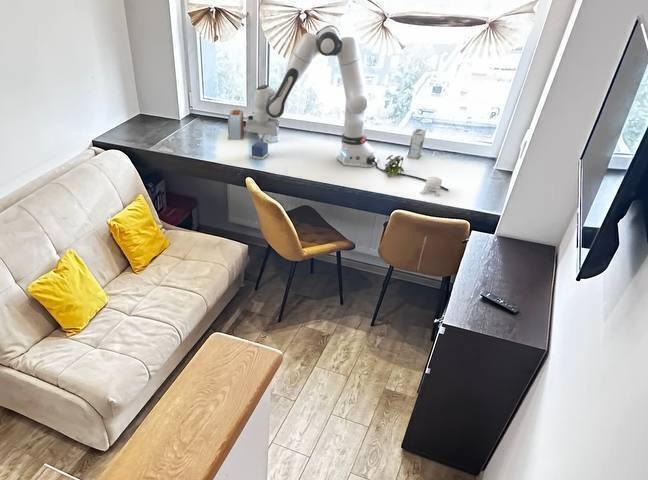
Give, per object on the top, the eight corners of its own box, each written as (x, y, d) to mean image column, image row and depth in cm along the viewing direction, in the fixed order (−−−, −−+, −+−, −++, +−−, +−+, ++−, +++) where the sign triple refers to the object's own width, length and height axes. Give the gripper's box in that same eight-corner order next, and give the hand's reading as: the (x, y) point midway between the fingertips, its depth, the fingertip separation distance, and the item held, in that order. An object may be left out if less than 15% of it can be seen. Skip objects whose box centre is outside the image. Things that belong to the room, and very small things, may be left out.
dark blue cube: (257, 141, 321) (257, 152, 326) (251, 145, 316) (251, 157, 321) (267, 143, 318) (267, 154, 323) (262, 147, 314) (262, 159, 318)
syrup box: (411, 153, 314) (416, 128, 304) (421, 155, 311) (426, 130, 301) (407, 157, 311) (412, 131, 301) (417, 159, 308) (422, 133, 298)
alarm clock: (231, 130, 354) (230, 109, 345) (244, 130, 353) (243, 109, 344) (228, 139, 344) (227, 117, 334) (241, 139, 342) (240, 117, 333)
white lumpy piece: (422, 192, 285) (420, 193, 272) (426, 175, 281) (424, 176, 269) (439, 194, 282) (437, 196, 269) (444, 177, 279) (442, 178, 266)
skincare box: (278, 141, 337) (278, 115, 326) (270, 143, 336) (270, 116, 325) (264, 130, 352) (264, 105, 341) (256, 132, 350) (256, 106, 339)
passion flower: (386, 180, 302) (389, 158, 301) (405, 180, 297) (409, 157, 295) (380, 175, 293) (383, 152, 291) (400, 175, 287) (404, 152, 286)
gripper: (281, 117, 304) (280, 141, 313) (249, 112, 312) (249, 136, 321) (276, 120, 300) (276, 145, 309) (244, 116, 308) (244, 140, 318)
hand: (262, 141), depth 316 cm, fingers closed
